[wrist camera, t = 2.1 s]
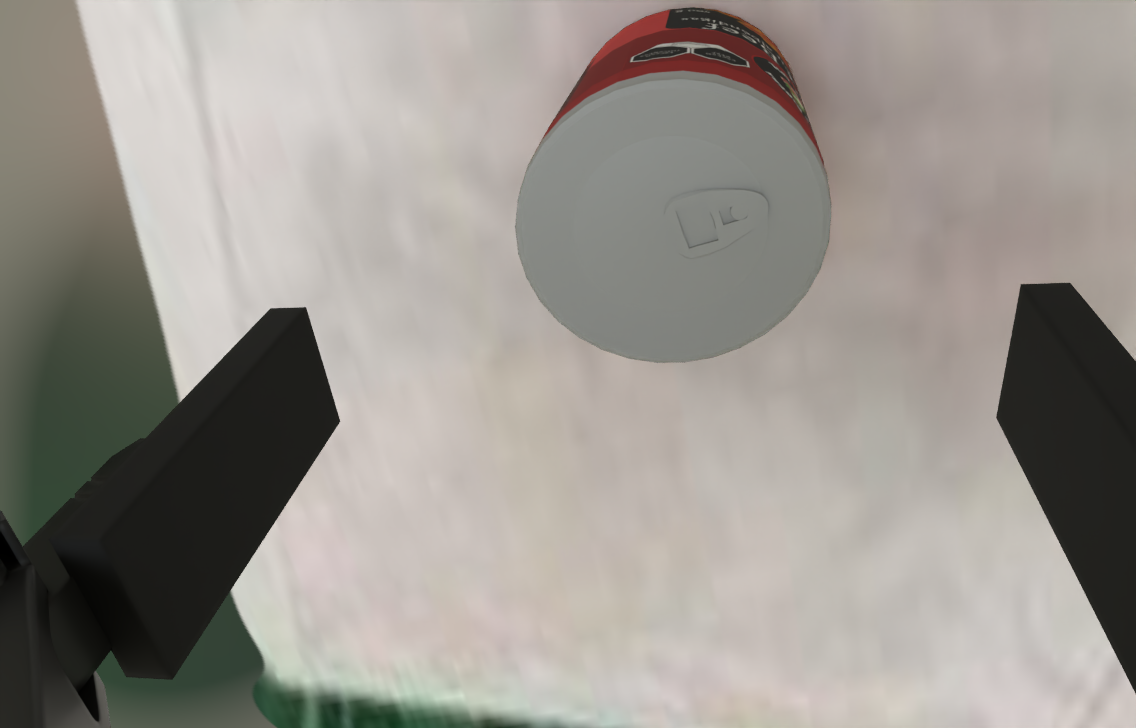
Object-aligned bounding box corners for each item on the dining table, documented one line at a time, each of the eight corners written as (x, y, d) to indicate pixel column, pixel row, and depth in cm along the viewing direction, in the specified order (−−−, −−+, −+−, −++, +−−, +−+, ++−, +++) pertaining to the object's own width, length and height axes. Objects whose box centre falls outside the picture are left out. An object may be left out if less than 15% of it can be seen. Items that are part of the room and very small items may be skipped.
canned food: (837, 139, 30) (892, 270, 20) (653, 255, 33) (627, 413, 24) (720, -52, 27) (721, -1, 18) (532, 95, 30) (452, 201, 21)
